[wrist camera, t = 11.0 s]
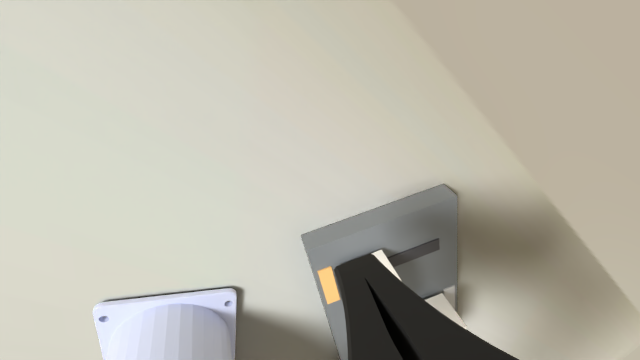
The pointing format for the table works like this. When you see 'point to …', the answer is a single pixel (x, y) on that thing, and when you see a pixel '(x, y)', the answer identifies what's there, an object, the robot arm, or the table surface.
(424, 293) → the switch panel
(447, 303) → the tab
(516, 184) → the table surface
